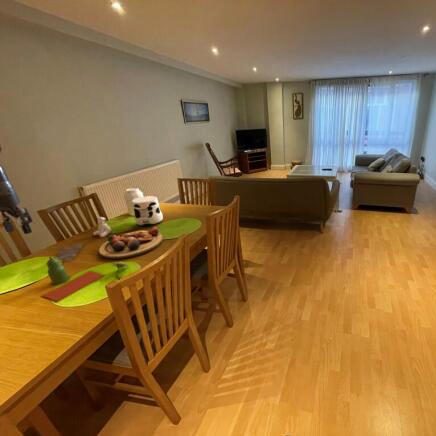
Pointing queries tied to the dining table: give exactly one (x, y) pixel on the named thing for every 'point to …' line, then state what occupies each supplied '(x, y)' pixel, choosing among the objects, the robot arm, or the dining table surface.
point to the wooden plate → (130, 244)
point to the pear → (56, 271)
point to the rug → (68, 252)
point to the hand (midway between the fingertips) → (19, 232)
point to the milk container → (147, 210)
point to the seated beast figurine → (102, 228)
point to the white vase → (131, 198)
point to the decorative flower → (119, 266)
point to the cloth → (72, 286)
